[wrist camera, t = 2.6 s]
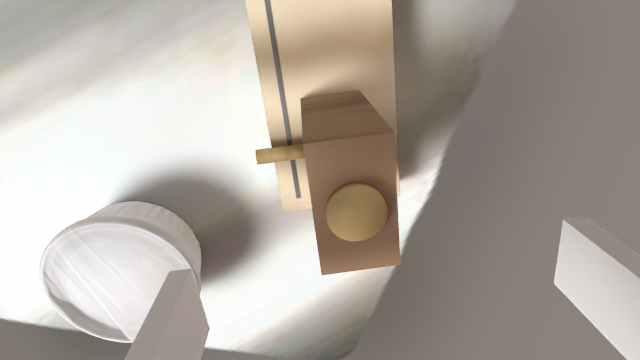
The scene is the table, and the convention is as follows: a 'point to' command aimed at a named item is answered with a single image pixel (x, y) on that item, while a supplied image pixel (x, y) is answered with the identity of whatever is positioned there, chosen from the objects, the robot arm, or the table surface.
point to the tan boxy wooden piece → (347, 181)
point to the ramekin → (116, 267)
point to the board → (320, 69)
